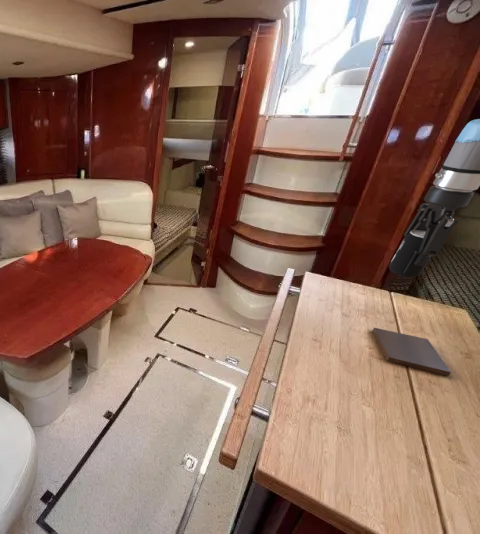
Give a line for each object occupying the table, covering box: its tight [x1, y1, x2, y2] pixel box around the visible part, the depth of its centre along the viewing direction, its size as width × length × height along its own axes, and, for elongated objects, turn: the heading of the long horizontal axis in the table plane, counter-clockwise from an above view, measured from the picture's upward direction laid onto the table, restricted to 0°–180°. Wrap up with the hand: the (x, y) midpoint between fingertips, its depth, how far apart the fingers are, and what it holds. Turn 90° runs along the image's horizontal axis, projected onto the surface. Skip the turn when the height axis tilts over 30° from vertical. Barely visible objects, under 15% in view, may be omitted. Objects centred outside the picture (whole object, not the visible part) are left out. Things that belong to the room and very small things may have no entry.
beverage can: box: [388, 230, 432, 278], centre depth 85 cm, size 7×7×12 cm
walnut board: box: [371, 327, 452, 377], centre depth 84 cm, size 12×13×2 cm
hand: (405, 267), depth 87 cm, fingers closed on beverage can, 6 cm apart
